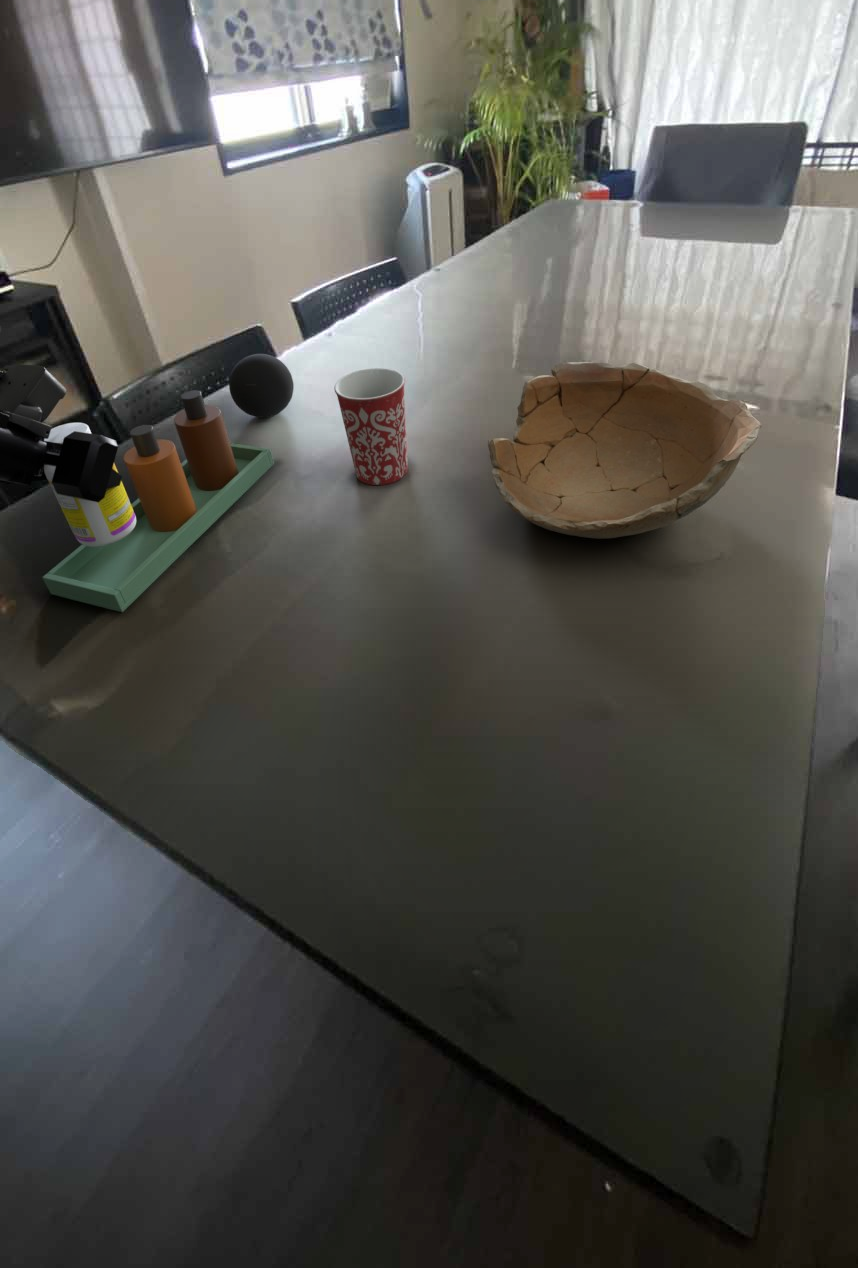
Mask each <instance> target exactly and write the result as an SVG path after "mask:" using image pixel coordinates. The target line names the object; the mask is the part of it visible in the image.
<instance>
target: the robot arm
mask: <svg viewBox="0 0 858 1268" xmlns="http://www.w3.org/2000/svg"><path fill="white" fill-rule="evenodd" d="M1 331H2V326H1V325H0V332H1ZM3 370H4V371H1V370H0V484H3V485H14V484H17V485H18V484H19V485H22V486H23V485H24V486H29V487H31V486H32V484H33V482H41V481H48V479H47V477H46V475H45V472H44V465H49V466H55V467H56V468H55V472H54V475H53V479H52V484H53V486H54V488H55V491H56V493H57V494H61V495H65V496H69V497H74V498H78V499H83V500H88V501H94V502H100V501H101V500H102V499H103V498H104V497H105V494H106V490H107V489H110V488H113V487H116V486H119V485H120V483H121V481H122V479H123V476H122V475H121V474H120V473H119V472H118V473H117V472H116V471H115V470H114V469H113V464H115V461H116V456H117V453H118V449H119V445H118V443H117V440H115V439H113V438H110V437H107V436H104V435H102V434H98V433H97V434H96V433H91V434H90V433H83V432H76V431H74V432H72V433H71V434H69V435H68V436H66V437H64V440H63V443H62V444H60V443H54V442H48V441H44V439H48V438H49V435H50V431H51V429H53V427H52V425H49V424H46V423H43V422H45V421H46V420H47V419H48V418H49V416H50V415H51V414H52V413H53V411H54V409H55V407H56V406H57V405H58V403H59V402H60V401H61V400H63V399H64V398H65V397H66V395H67V388H66V387H65V386H64V385H63V384H62V383H61V382H60V381H59V380H58V379H57V378H56V377H55V376H54V375H53V374H52V373H51V372H49V371H48V369H47V368H45V366H41V365H33V364H23V363H16V364H14V365H12V366H11V365H5V366H4V367H3ZM48 452H51V453H57V454H59V455H54V454H48Z"/></svg>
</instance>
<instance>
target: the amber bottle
mask: <svg viewBox="0 0 858 1268" xmlns="http://www.w3.org/2000/svg"><path fill="white" fill-rule="evenodd" d="M129 435H130V438H131V440H132V442H133V445H134V446H133V447H130V448H129V449H127V451H126V452H125V453H124V455H123V461H124V462H123V463H124V464H125V467H126V469H127V471H128V474H129V476H130V479H131V481H132V484H133V487H134V490H135V492H136V494H137V496H138V497H137V498H139V499H140V502H141V504H142V507H143V509H144V512H145V514H146V517H147V519H148V522H149V524H150V527H151V528H152V529H153V530H155V531H158V532H171V531H175V530H178V529H179V528H180V527H181V526H183V525H184V524H185V523H186V522H187V521H188V520H189V519H190V518H191V517H192V516H193V515H194V514H195V513H197V509H196V506H195V503H194V500H193V497H192V495H191V492H190V489H189V486H188V483H187V480H186V477H185V474H184V471H183V468H182V465H181V463H182V462H181V460H180V457H179V454H178V451H177V447H176V445H175V444H174V442H173V441H172V440H168V439H158V438H157V436H156V433H155V430H154V428H153V426H152V425H150V424H142V425H138V426H135V427H134V428H132V429H131V430H130V431H129Z"/></svg>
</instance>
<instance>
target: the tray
mask: <svg viewBox="0 0 858 1268" xmlns="http://www.w3.org/2000/svg"><path fill="white" fill-rule="evenodd" d="M230 446H231V449H232V453H233V456H234V459H235V463H236V466H237V470H238V474H237V475H236V476H235V477H234V478H233V479H232V480H231V481H230V482H229V483H228V484H227V485H226V486H225V487H223V488H222V489H220V490H215V491H204V490H200V489H198V488H197V487H196V485H195V483H194V480H193V477H192V474H191V471H190V468H189V465H188V462H187V459H184V460H183V461H182V462H181V465H182V468H183V471H184V474H185V477H186V480H187V483H188V486H189V489H190V492H191V495H192V497H193V500H194V503H195V506H196V509H197V513H195V514H194V515H193V516H192V517H191V518H190V519H189V520H188V521H187V522H186V523H185V524H184V525H183V526H181V527H180V528H179V529H178V530H175V531H171V532H158V531H155V530H153V529H152V528H151V527H150V524H149V522H148V519H147V517H146V514H145V512H144V509H143V507H142V504H141V502H140V499H139V497H137V499H135V500H134V501H133V502H132V503H131V506H132V508H133V510H134V513H135V516H136V525H135V527H134V529H133V530H132V531H131V532H130V533H129V534H128V535H127V536H126V537H124V538H123V539H121V540H119V541H117V542H114V543H111V544H108V545H104V546H98V547H90V546H86V545H83V544H80V545H79V546H78V547H77V548H76V549H75V550H73V551H72V552H71V553H70V554H69V555H67V556H66V557H65V558H63V560H61V561H60V562H59V563H57V564H56V566H54V567H53V568H51V570H49V571H48V572H47V573H46V574H45V575H43V576H42V580H43V582H44V584H45V586H46V587H47V589H48V590H49V593H50V594H51V595H53V596H57V597H60V598H65V599H69V600H72V601H77V602H81V603H84V604H88V605H92V606H96V607H100V608H103V609H107V610H111V611H116V612H120V613H123V612H125V611H126V610H127V609H128V608H129V607H130V606H131V605H132V604H133V603H134V602H135V601H136V600H137V599H138V598H139V597H140V596H141V595H142V594H143V593H144V592H145V591H146V590H147V589H148V588H149V587H150V586H151V585H152V584H153V583H154V582H155V581H156V580H157V579H158V578H159V577H161V575H162V574H163V573H164V572H165V571H167V570H168V568H170V566H171V565H173V564H174V563H175V561H177V560H178V559H179V558H180V557H181V556H182V555H183V554H184V553H185V552H186V551H187V550H188V549H189V548H190V547H191V546H192V545H193V544H194V543H195V542H196V541H197V540H198V539H199V538H200V537H201V536H202V535H203V534H204V533H205V532H206V531H207V530H208V529H209V528H211V526H212V525H213V524H215V522H216V521H217V520H219V519H220V518H221V517H222V516H223V515H224V514H225V513H226V512H227V511H228V510H229V509H230V508H231V507H232V506H233V505H234V504H235V503H236V502H237V501H238V500H239V499H240V498H241V497H242V496H243V495H244V494H245V493H246V492H247V491H248V490H249V489H250V488H251V487H252V486H253V485H254V484H255V483H257V482H258V481H259V479H261V477H262V476H263V475H265V474H266V473H267V472H268V470H270V469H271V468H272V467H273V466H274V465H275V461H274V458H273V453H272V450H271V448H268V447H260V446H254V445H247V444H240V443H233V442H230Z"/></svg>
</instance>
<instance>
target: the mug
mask: <svg viewBox="0 0 858 1268" xmlns="http://www.w3.org/2000/svg"><path fill="white" fill-rule="evenodd" d="M405 385H406V377H405V376H404V374H402V372H400V371H398V370H395V369H392V368H385V367H372V368H362V369H359V370H355V371H352V372H349V373H347V374H345V375H343V376H342V377H340V378H339V379H337V380H336V382H335V384H334V387H333V389H334V393H335V394H336V396H337V397H336V398H337V400H338V404H339V409H340V413H341V417H342V421H343V425H344V429H345V435H346V438H347V439H346V440H347V443H348V447H349V451H350V455H351V460H352V464H353V468H354V472H355V475H356V478H357V479H358V480H359V481H360V482H362V483H364V484H367V485H372V486H385V485H389V484H393V483H395V482H397V481H399V480H401V479H402V478H403V477H404V476H405V475H406V474H407V472H408V468H409V466H408V444H407V425H406V403H405V402H406V401H405Z"/></svg>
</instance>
